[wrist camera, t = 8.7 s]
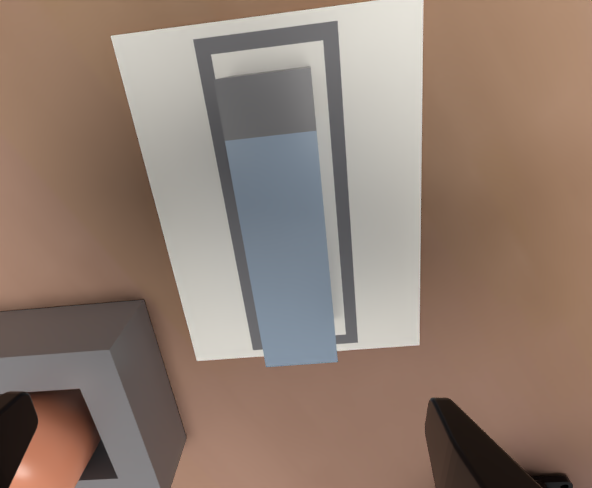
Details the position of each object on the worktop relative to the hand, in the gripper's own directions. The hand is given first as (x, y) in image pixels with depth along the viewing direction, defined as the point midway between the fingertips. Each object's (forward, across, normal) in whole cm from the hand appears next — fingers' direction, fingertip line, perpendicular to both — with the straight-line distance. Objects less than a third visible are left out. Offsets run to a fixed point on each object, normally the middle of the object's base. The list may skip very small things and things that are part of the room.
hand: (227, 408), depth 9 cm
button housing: (+11, +11, +10) cm, 18 cm away
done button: (+9, +11, +10) cm, 17 cm away
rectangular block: (+11, -1, -1) cm, 11 cm away
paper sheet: (+11, -1, -1) cm, 11 cm away
